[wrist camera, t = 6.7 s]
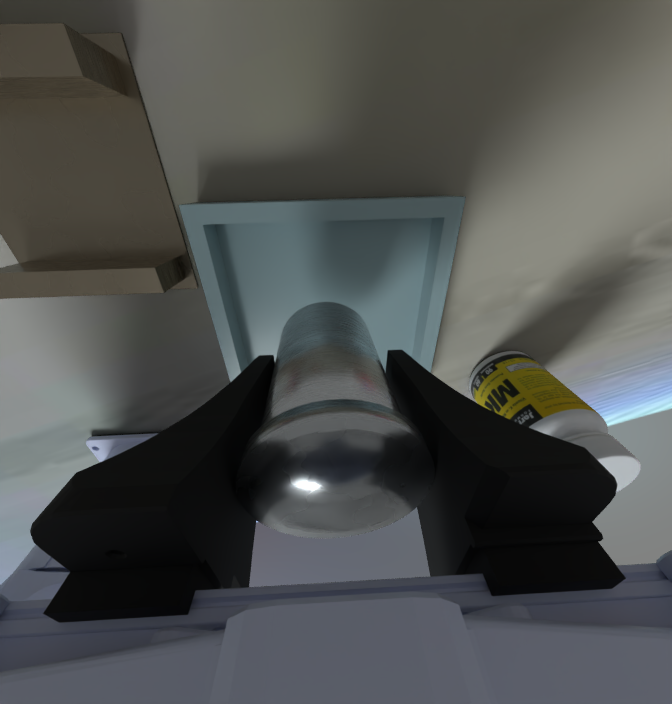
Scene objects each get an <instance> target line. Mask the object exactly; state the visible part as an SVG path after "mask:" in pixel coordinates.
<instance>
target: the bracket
mask: <svg viewBox="0 0 672 704" xmlns="http://www.w3.org/2000/svg"><path fill="white" fill-rule="evenodd" d="M0 234H1V235H2V237H3V238H4V240H5V241H6V243H7V245H8V246H9V248H10V249H11V251H12V253H13V254H14V256H15V257H16V259H17V260H18V262H19V263H18V264H15V265H11V266H7V267H3V268H0V299H4V298H32V297H60V296H88V295H115V294H143V293H164V292H166V291H167V290H169V289H190V288H198V284H197V281H196V278H195V274H194V271H193V268H192V264H191V261H190V258H189V254H188V251H187V248H186V244H185V241H184V238H183V234H182V231H181V228H180V224H179V221H178V218H177V214H176V211H175V208H174V204H173V201H172V198H171V194H170V191H169V188H168V184H167V181H166V178H165V174H164V171H163V168H162V164H161V161H160V158H159V155H158V151H157V148H156V145H155V141H154V138H153V135H152V131H151V128H150V125H149V121H148V118H147V115H146V111H145V108H144V105H143V101H142V98H141V95H140V91H139V88H138V85H137V81H136V78H135V75H134V71H133V68H132V65H131V61H130V58H129V55H128V51H127V48H126V45H125V41H124V38H123V35H122V34H121V33H80V34H79V33H78V32H76V31H75V30H73V29H71V28H70V27H68V26H67V25H65V24H64V23H42V24H0Z"/></svg>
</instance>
